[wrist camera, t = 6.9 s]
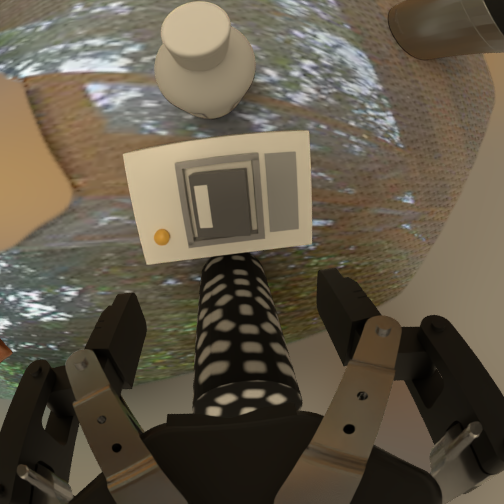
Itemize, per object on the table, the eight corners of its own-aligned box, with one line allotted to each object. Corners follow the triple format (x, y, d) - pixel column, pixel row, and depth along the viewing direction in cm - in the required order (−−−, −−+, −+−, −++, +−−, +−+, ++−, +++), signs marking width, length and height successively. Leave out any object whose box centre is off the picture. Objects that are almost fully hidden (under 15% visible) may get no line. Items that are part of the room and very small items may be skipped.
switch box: (295, 130, 29) (312, 131, 23) (299, 227, 34) (315, 248, 29) (137, 149, 28) (118, 155, 22) (155, 245, 33) (144, 270, 28)
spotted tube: (258, 306, 39) (287, 433, 21) (199, 301, 37) (192, 433, 19) (269, 253, 35) (316, 378, 17) (203, 246, 34) (192, 377, 16)
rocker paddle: (246, 167, 24) (244, 170, 23) (252, 229, 27) (250, 236, 25) (193, 172, 25) (188, 176, 23) (202, 231, 27) (197, 238, 26)
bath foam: (233, 54, 24) (256, -43, 6) (249, 109, 28) (299, 79, 10) (172, 72, 25) (104, 0, 7) (188, 127, 28) (134, 125, 10)
